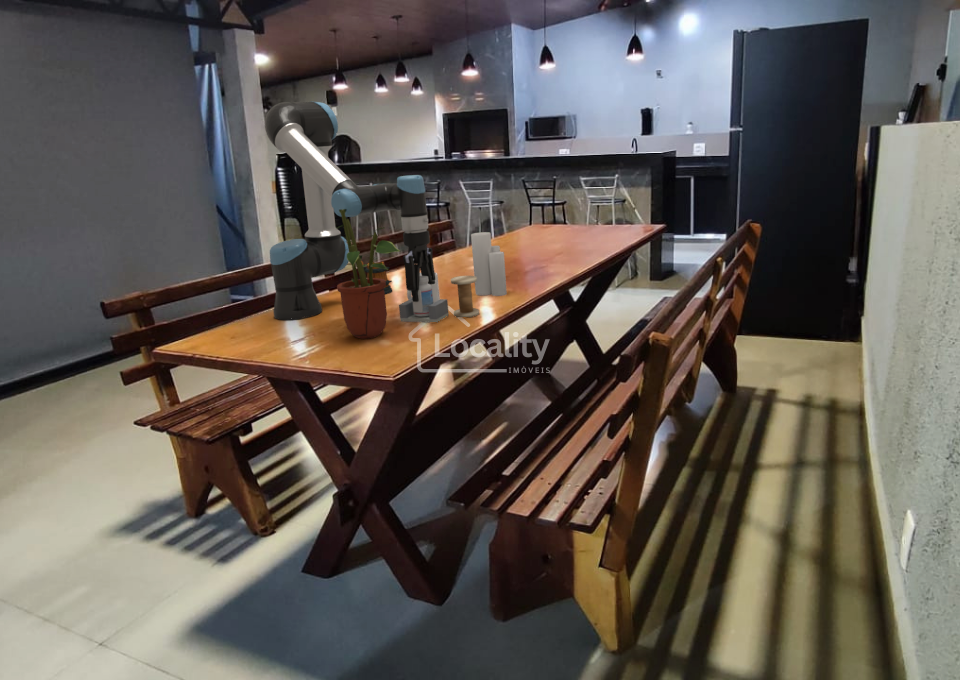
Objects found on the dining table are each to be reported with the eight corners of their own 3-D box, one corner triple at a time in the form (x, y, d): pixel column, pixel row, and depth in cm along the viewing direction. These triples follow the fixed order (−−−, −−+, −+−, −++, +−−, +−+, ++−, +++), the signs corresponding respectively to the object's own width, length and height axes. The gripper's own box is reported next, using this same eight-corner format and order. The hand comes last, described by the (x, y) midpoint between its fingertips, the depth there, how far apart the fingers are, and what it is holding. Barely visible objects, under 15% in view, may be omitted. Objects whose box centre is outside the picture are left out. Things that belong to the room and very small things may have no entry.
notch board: (400, 321, 199) (398, 304, 197) (413, 314, 206) (412, 298, 204) (436, 322, 194) (434, 306, 192) (448, 315, 201) (447, 299, 199)
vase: (472, 295, 224) (467, 235, 219) (481, 290, 231) (476, 232, 225) (503, 296, 220) (499, 235, 214) (511, 291, 226) (507, 231, 220)
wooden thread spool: (449, 317, 199) (446, 280, 195) (460, 310, 205) (457, 275, 202) (473, 318, 196) (470, 281, 192) (483, 311, 202) (480, 275, 199)
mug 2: (398, 290, 241) (395, 258, 238) (381, 296, 233) (377, 264, 230) (370, 288, 248) (366, 257, 244) (352, 295, 239) (348, 263, 236)
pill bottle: (438, 314, 198) (434, 276, 195) (420, 318, 195) (416, 280, 192) (428, 310, 203) (424, 274, 200) (410, 314, 200) (406, 277, 197)
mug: (418, 313, 206) (414, 280, 203) (400, 310, 211) (396, 278, 208) (445, 304, 214) (442, 273, 211) (427, 302, 220) (424, 271, 217)
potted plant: (346, 345, 179) (328, 212, 168) (341, 331, 193) (323, 208, 183) (411, 335, 183) (396, 205, 173) (401, 322, 197) (387, 201, 187)
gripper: (410, 235, 182) (419, 317, 189) (442, 225, 199) (449, 301, 206) (387, 236, 185) (396, 316, 192) (420, 226, 202) (427, 300, 209)
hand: (423, 308), depth 199 cm, fingers closed on pill bottle, 6 cm apart
